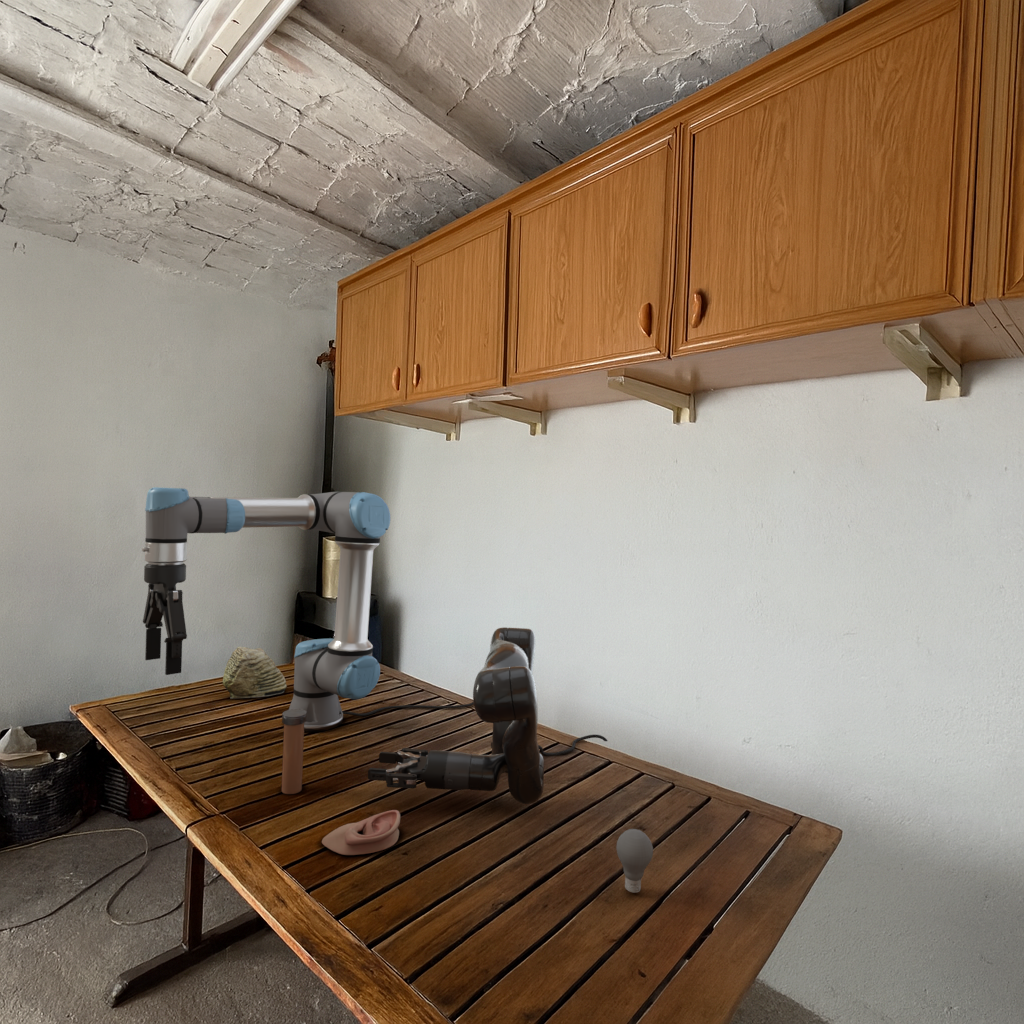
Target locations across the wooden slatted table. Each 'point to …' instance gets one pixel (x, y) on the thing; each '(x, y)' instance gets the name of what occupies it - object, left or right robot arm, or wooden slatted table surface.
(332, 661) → the left robot arm
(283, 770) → the brown cylindrical rod
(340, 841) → the anatomical model
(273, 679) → the fossil
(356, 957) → the wooden slatted table surface
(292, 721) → the lid
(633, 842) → the light bulb
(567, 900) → the wooden slatted table surface
